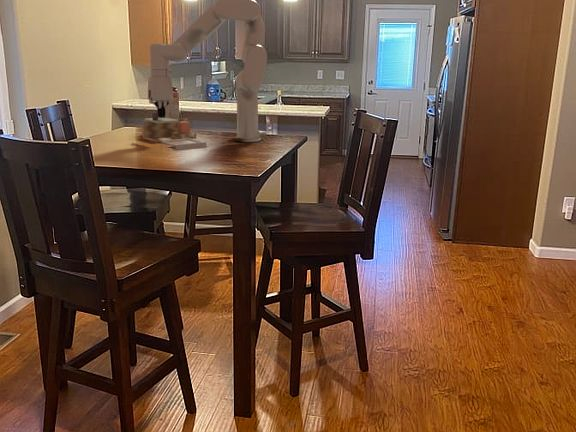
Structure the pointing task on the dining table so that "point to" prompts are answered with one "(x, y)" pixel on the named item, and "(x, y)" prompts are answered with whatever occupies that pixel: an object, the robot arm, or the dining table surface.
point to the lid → (160, 119)
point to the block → (183, 127)
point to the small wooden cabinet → (164, 131)
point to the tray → (185, 146)
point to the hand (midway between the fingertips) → (161, 117)
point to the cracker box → (173, 107)
